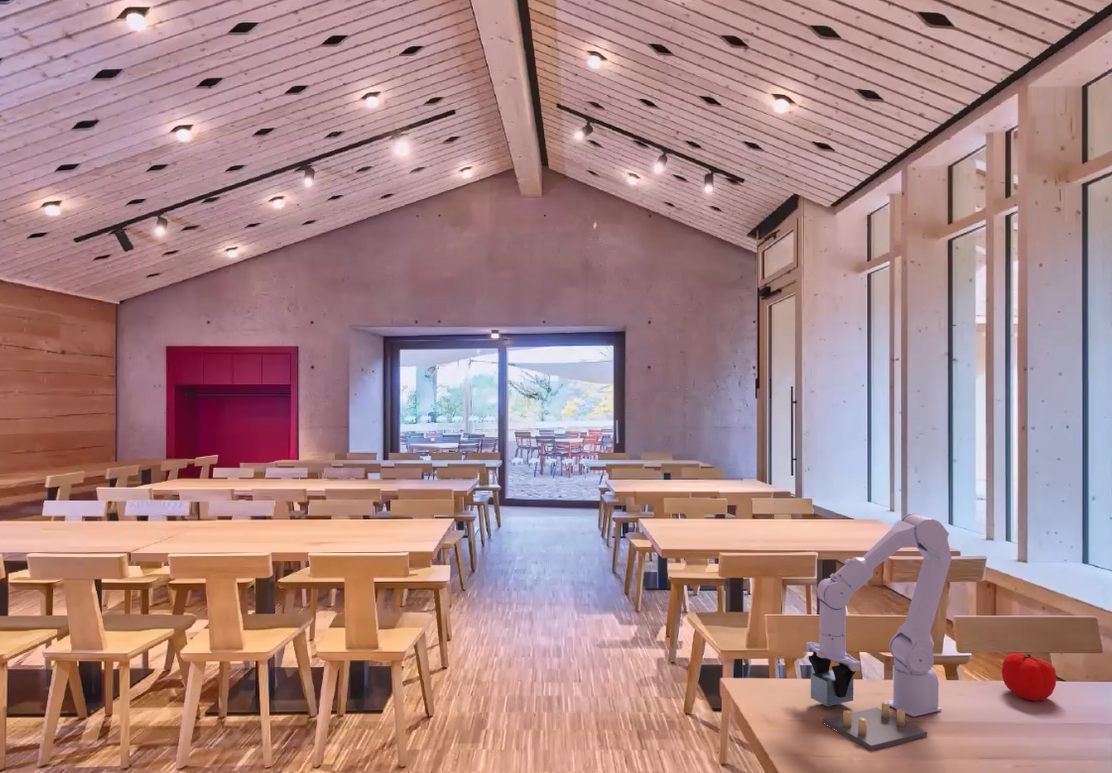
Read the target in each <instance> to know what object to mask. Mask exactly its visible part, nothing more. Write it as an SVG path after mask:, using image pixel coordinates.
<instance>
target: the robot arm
mask: <svg viewBox="0 0 1112 773" xmlns="http://www.w3.org/2000/svg"><path fill="white" fill-rule="evenodd" d="M949 535H950V534H949V531H947V529H946V528H945V527H944V525H943V524H942V523H941V522H940V520H939V521H938V520H937V519H934V518H929V517H926V516H924V515H922V514H919V513H917V512H910V513H907V514H905V515H904V516H903V517H902V518H901V520H900V519H899V520H897V521H896V522H894V524H893V525H892V528H891V529H890V530H889V531H888V532H887V533H886V534H885V535H884V536H883V537H882V538H881V539H879V541H877V542H876V543H875V544H874V545H873V546H872V547H871V548H870V549H869V550H868V551H867V552H866V553H865V554H864V555H863V556H861V557H860V556H858V557H857V556H853V557H852V558H847V559H845V561H844V563H845V564H844V565H843V566H842V567H841V568H840V569H838V570H837V571H835V572H834V573H833V572H831V574H830V575H829V577H830V578H829V577H827V578H823V579H822V580H821V581H820V582H819V583H818V584H817V587H816V588H815V595H816V596H817V598H818V599H819V610H818V611H819V612H818V613H819V618H818V619H819V622H818V624H819V626H818V631H819V632H818V634H819V636H818V641H819V642H814V641H808V642H805V643H806V644H805V647H806V648H805V650H806V652H808V653H812V654H811V655H809V656H808V661H809V662H810V664H811V666H812V668H813V672H814V673H819V672H824V671H829V670H830V668H831V670H833V672H834V676H835V681H836V694H837V697H839V698H841V697H845V696H846V693H847V690H848V686H849V683H850V681H851V679H852V677H853V678H854V675H855V674H856V672H858V671H859V672H860V671H861V661H859V660H857V659H856V658H854V657H853V656H851V655H850V654H849V653H847V652H846V647H847V644H846V642H847V641H846V640H847V638H846V636H847V635H846V634H847V633H846V632H847V630H846V627H847V625H846V624H847V623H846V620H847V618H846V617H847V616H846V611H847V610H846V607H847V606H848V605H849V604H850V601H851V597H852V595H853V594H855V593H856V592H857V591H859V589H860V588H862V586H864V585H865V584H866V583H868V582H869V581H870V580H871V579H872V578H873V577H874V569H875V568H877V567H878V566H879V565H880V564H883V562H885V561H886V560H887V559H889V557H891V556H892V555H893V554H895V553H896V552H898V551H899V550H900V549H902V548H903V549H904V548H905V549H906V548H907V549H908V548H917V550H918V551H919V553H920V554H921V556H922V558H923V560H922V564H921V566H920V570H919V574H918V577H917V580H916V584H915V588H914V592H913V594H912V598H911V601H910V605H909V608H908V612H907V614H906V619H905V622H904V623H903V624H901V625H900V626H898V628H897V632H896V633H895V635H894V636H893V637H892V638H891V639H890V641H889V646H888V648H889V651H890V654H891V655H892V657H893V658H894V660H893V684H892V686H893V692H892V693H893V694H892V695H893V696H892V699H889V700H885V701H884V702H887V703H889V704H890V708H893V709H896V710H897V709H902V710H904V711H905V715H907V716H911V717H914V718H915V717H919V716H923V715H928V714H932V713H936V712H940V711H942V707H940V706H939V679H938V675H937V674H936V672H935V671H934V670H933V669H932V668H933V667H934V663H935V659H934V648H935V643H934V640H933V636H932V634H931V633H932V628H933V625H934V621H935V618H936V613H937V611H938V607H939V604H940V601H941V596H942V593H943V590H944V587H945V583H946V581H947V580H946V579H947V575H948V572H949V569H950V566H951V563H952V554H951V553H952V552H951V548H950V544H949V540H948V538H949ZM832 662H835V663H836V664H838V665H833V666H831V663H832Z"/></svg>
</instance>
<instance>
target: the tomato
mask: <svg viewBox="0 0 1112 773" xmlns="http://www.w3.org/2000/svg"><path fill="white" fill-rule="evenodd" d="M1001 674H1002V675H1001V677H1002V681H1003V682H1004V685H1005V686H1006V687H1007V689H1008V690H1009V691H1010V692H1011V693H1013V694H1014V695H1016V696H1017V697H1018V698H1020V699H1023V700H1027V701H1034V702H1036V701H1045V700H1046V699H1047V698H1049V697H1051V695H1052V694H1053V692H1054V691H1055V688H1056V684H1057V673H1056V668H1055V667H1054V666H1053V665H1052V664H1051V663H1050V662H1049V661H1046V659H1045V658H1044V659H1043V658H1040V657H1039V656H1036V655H1033V654H1029V653H1028V652H1027V651H1024V652H1018V651H1017V652H1015V651H1013V652H1010V653H1009V654H1007V655H1006V656H1005V657H1004V660H1003V662H1002V665H1001Z"/></svg>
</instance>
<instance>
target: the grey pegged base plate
mask: <svg viewBox="0 0 1112 773" xmlns="http://www.w3.org/2000/svg"><path fill="white" fill-rule="evenodd" d="M890 708H891V706H890V704H889V703H887V702H885V701H882V702H881V708H879V707H872V708H868V709H862V710H859V711H854V712H852V711H851V710H850V709H847V710H846V709H844V710H843V713H842V714H841V715H836V716H830V717H827V718H823V719H822V724H823V723H825V724H826V725H828V726H830V727H831V728H830V727H829V728H830V729H832V728H833V729H835V730H837V731H838V732H837V731H836V732H837V733H839V732H840V733H839V734H840V735H842V734H843V736H844V737H845V738H848V739H850V740H852V741H853V742H855V743H857V744H859V745H861V746H863V748H866V749H868V750H869V751H875V750H878V749H882V748H887V747H891V746H896V745H899V744H902V743H905V742H906V743H907V742H911V741H915V740H918V739H923V738H925V737H926V738H927V737H928V731H926V730H925V729H923V728H920V727H918V726H916V725H914V724H912V723H910V722H907V721H906V713H905V711H904V710H902V709H896V716H895V715H893V714H891V713H890ZM826 725H825V726H826ZM828 726H827V727H828ZM833 729H832V730H833ZM835 730H834V731H835Z"/></svg>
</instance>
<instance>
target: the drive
mask: <svg viewBox="0 0 1112 773" xmlns="http://www.w3.org/2000/svg"><path fill="white" fill-rule="evenodd" d="M810 699H812V700H814V701H816V702H818V703H820V704H822V705H824V706H826V707H831V706H834V705H835V706H836V705H840V704H844V703H848V702H853V701H854V676H853V677H852V679H851V681H850V683H849V686H848V690H847V693H846V696H845V697H841V698H839V697H837V694H836V681H835V676H834V672H833V670H832V669H831V670H830V669H829V671H824V672H819V673H815V672H814V673H810Z"/></svg>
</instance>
